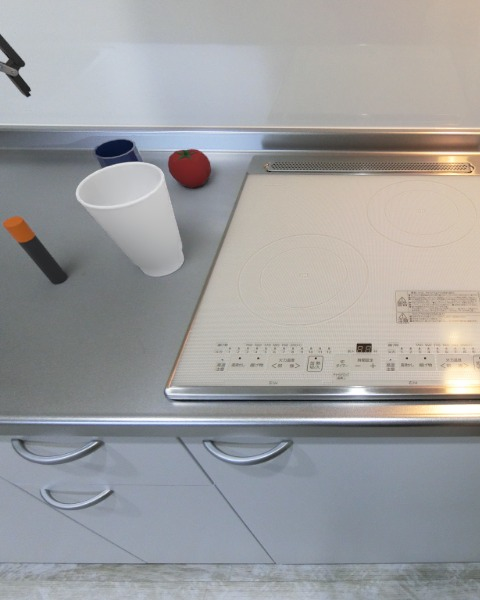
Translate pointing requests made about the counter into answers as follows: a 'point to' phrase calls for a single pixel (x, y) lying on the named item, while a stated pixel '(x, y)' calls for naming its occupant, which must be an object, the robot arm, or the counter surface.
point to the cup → (135, 214)
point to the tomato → (189, 167)
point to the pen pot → (117, 152)
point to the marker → (35, 249)
